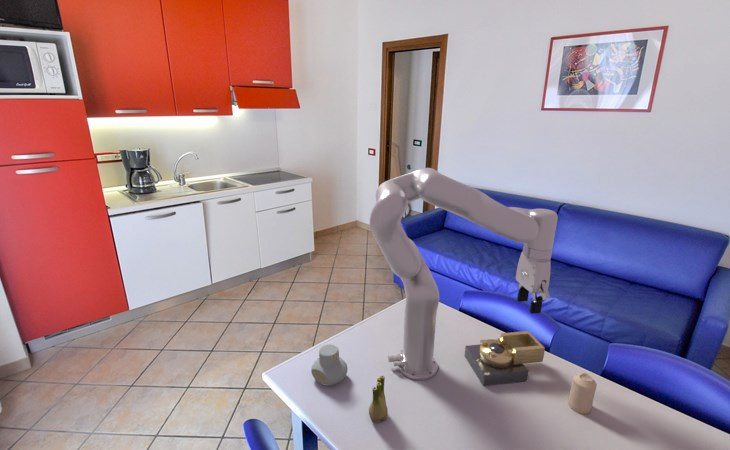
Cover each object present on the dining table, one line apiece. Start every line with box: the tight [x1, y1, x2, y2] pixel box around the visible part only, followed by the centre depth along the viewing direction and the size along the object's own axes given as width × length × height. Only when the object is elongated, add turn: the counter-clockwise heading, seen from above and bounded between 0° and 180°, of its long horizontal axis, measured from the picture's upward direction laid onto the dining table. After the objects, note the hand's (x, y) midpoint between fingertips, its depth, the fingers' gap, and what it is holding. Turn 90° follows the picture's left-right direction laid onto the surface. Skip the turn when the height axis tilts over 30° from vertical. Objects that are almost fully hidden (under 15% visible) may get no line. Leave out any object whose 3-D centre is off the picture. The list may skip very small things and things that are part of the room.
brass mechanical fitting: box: [479, 330, 546, 368], centre depth 115 cm, size 18×10×5 cm, turn 98°
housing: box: [464, 344, 529, 387], centre depth 116 cm, size 14×14×4 cm
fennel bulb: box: [368, 375, 388, 423], centre depth 96 cm, size 6×5×12 cm
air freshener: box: [311, 344, 348, 386], centre depth 111 cm, size 11×8×10 cm
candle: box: [567, 372, 598, 415], centre depth 100 cm, size 6×6×10 cm
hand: (528, 306), depth 111 cm, fingers open, 6 cm apart
